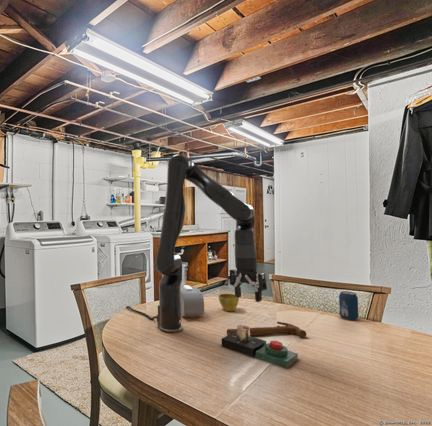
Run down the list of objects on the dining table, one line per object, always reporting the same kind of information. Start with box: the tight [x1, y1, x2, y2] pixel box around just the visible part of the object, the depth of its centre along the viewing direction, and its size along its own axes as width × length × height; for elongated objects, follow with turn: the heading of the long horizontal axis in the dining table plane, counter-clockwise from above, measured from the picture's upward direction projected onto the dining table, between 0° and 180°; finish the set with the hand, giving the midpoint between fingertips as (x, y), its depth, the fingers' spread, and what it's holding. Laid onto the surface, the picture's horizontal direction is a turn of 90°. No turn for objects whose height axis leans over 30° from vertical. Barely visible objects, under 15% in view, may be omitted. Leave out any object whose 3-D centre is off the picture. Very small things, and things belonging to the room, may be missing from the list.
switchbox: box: [255, 342, 299, 369], centre depth 103 cm, size 10×9×4 cm
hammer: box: [226, 321, 307, 339], centre depth 125 cm, size 12×3×30 cm
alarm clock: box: [180, 284, 205, 318], centre depth 153 cm, size 21×10×13 cm, turn 179°
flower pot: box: [217, 293, 240, 312], centre depth 157 cm, size 10×10×7 cm
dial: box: [236, 324, 251, 342], centre depth 112 cm, size 4×4×5 cm
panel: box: [221, 332, 267, 358], centre depth 112 cm, size 12×10×3 cm
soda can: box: [338, 290, 359, 322], centre depth 141 cm, size 7×7×12 cm
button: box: [269, 340, 283, 350], centre depth 103 cm, size 4×4×2 cm
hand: (248, 299), depth 114 cm, fingers open, 8 cm apart
